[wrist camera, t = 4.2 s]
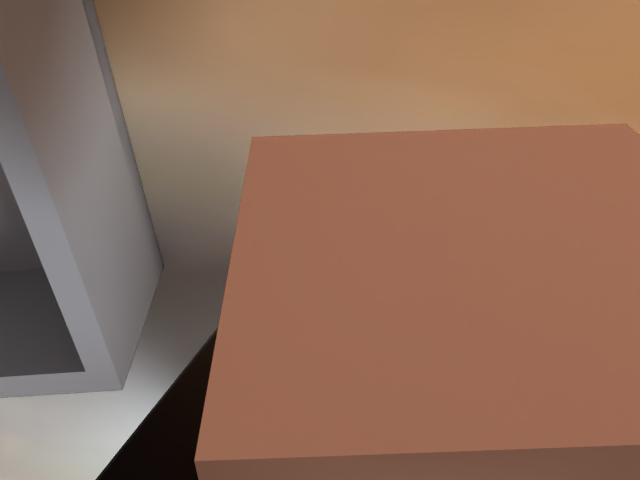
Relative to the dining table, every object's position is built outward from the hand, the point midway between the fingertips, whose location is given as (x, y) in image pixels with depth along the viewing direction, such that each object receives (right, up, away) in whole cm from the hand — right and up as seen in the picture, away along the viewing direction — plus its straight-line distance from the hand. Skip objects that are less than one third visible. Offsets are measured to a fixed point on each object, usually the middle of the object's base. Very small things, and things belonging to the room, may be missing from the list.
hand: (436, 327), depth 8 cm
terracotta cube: (0, +1, +1) cm, 1 cm away
